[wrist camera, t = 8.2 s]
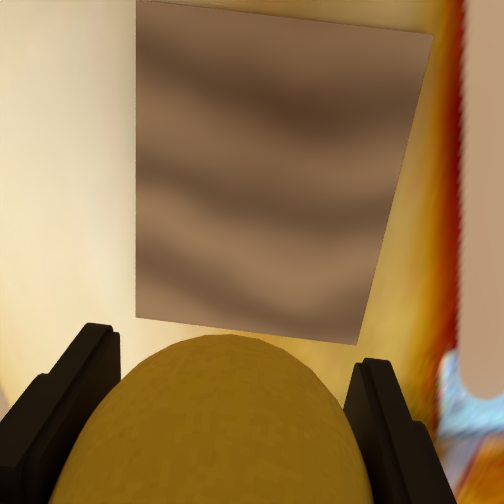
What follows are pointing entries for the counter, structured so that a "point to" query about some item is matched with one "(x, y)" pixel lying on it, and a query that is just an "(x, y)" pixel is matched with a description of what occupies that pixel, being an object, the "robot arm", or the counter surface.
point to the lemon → (216, 433)
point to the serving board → (266, 166)
